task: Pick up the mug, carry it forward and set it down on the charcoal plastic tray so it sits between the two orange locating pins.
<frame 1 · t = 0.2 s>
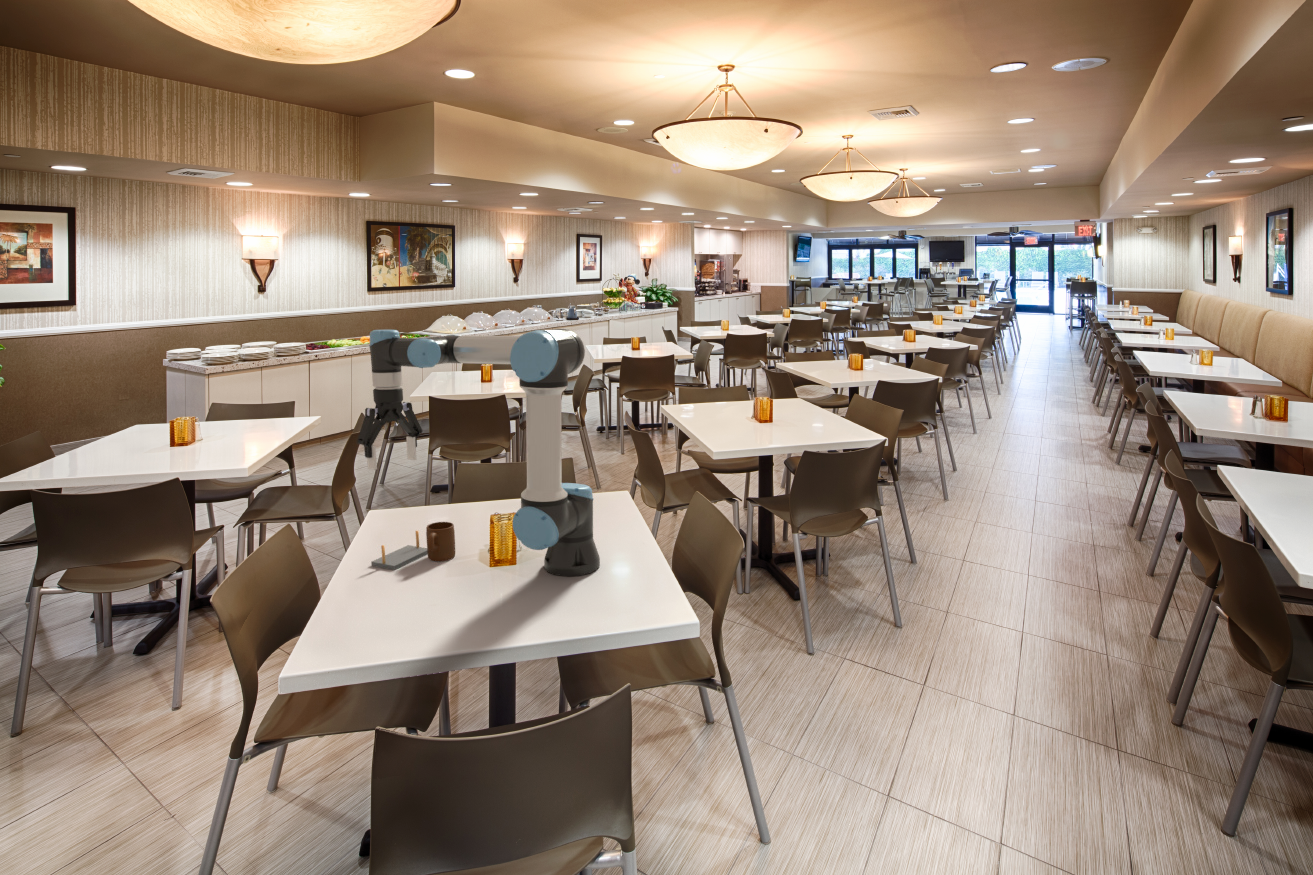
hand: (392, 464, 201), 27 cm above the table, fingers open, 13 cm apart
tray: (401, 559, 205), on the table
mug: (439, 560, 204), on the table
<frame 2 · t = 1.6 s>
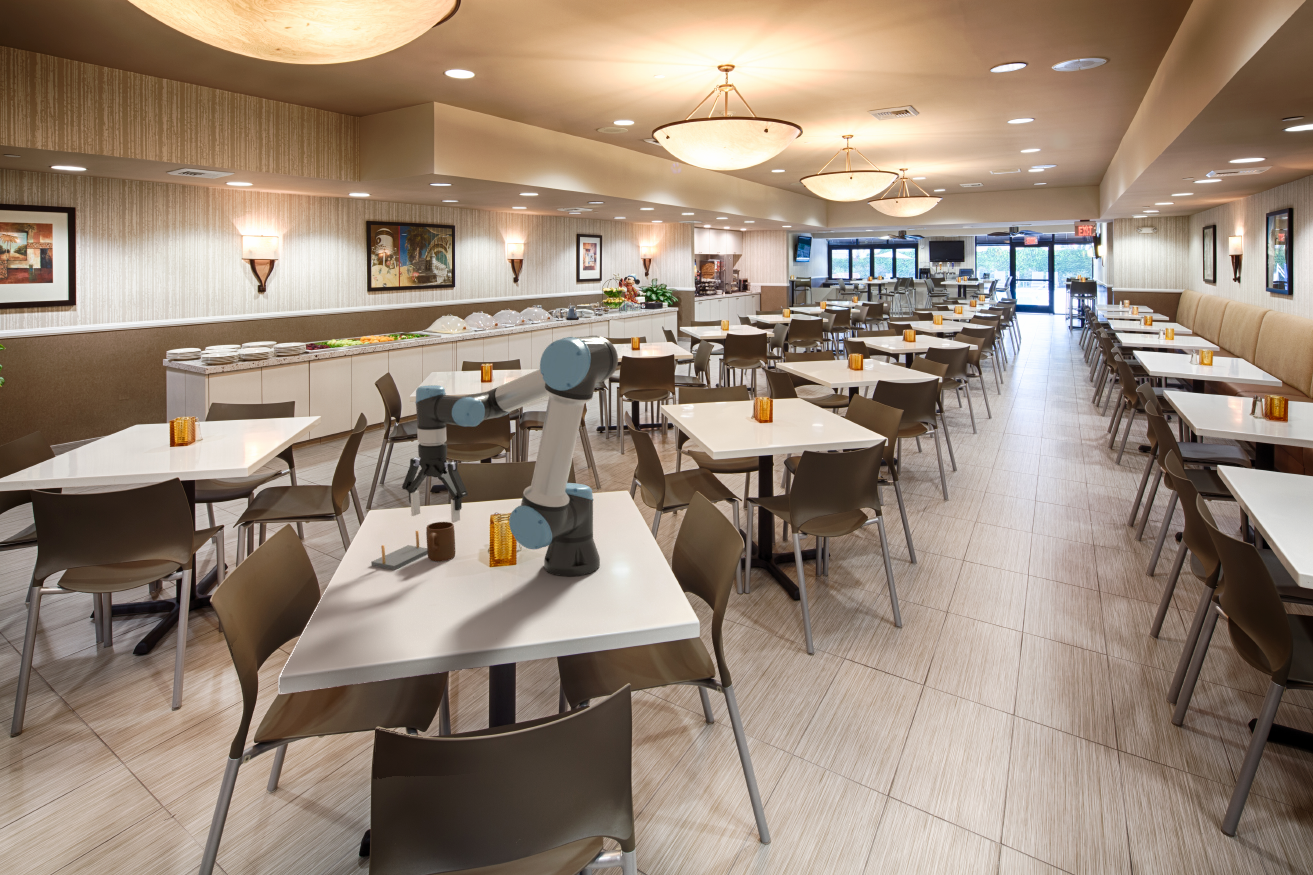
hand: (435, 518, 202), 12 cm above the table, fingers open, 13 cm apart
nothing on the table moved.
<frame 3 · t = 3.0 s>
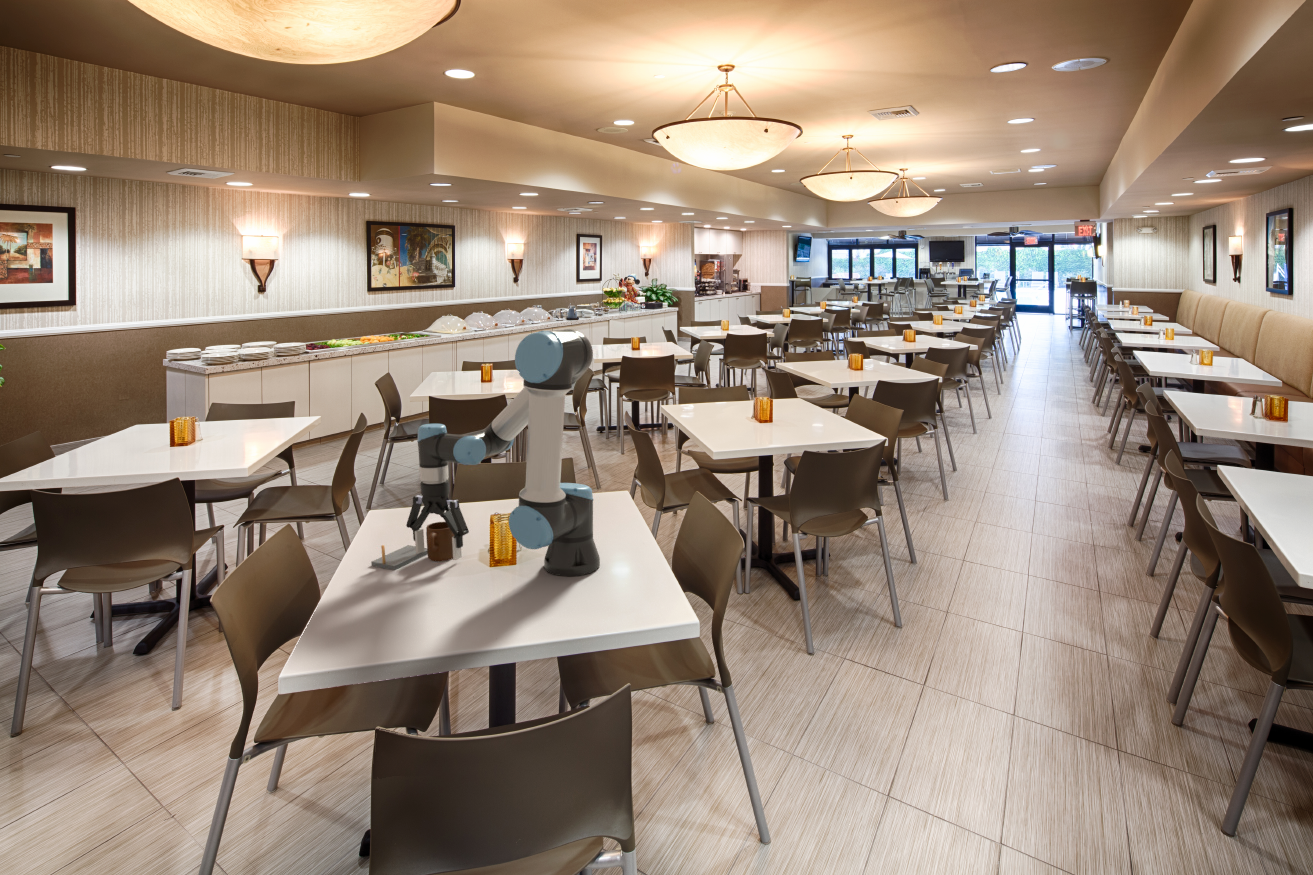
hand: (438, 555, 204), 1 cm above the table, fingers open, 12 cm apart
nothing on the table moved.
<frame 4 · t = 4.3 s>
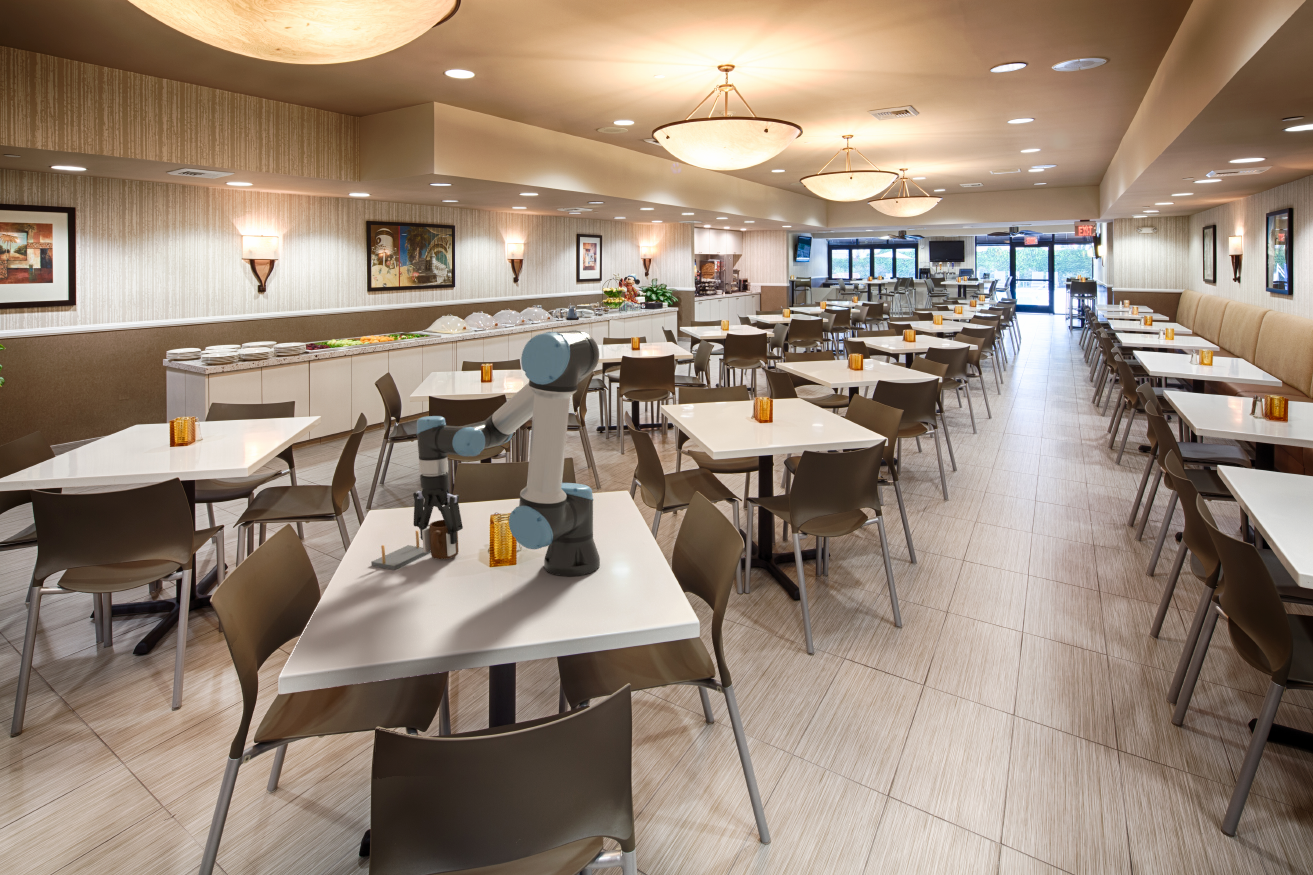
hand: (439, 552, 204), 2 cm above the table, fingers closed on mug, 7 cm apart
mug: (442, 558, 204), point 1 cm above the table, touching gripper
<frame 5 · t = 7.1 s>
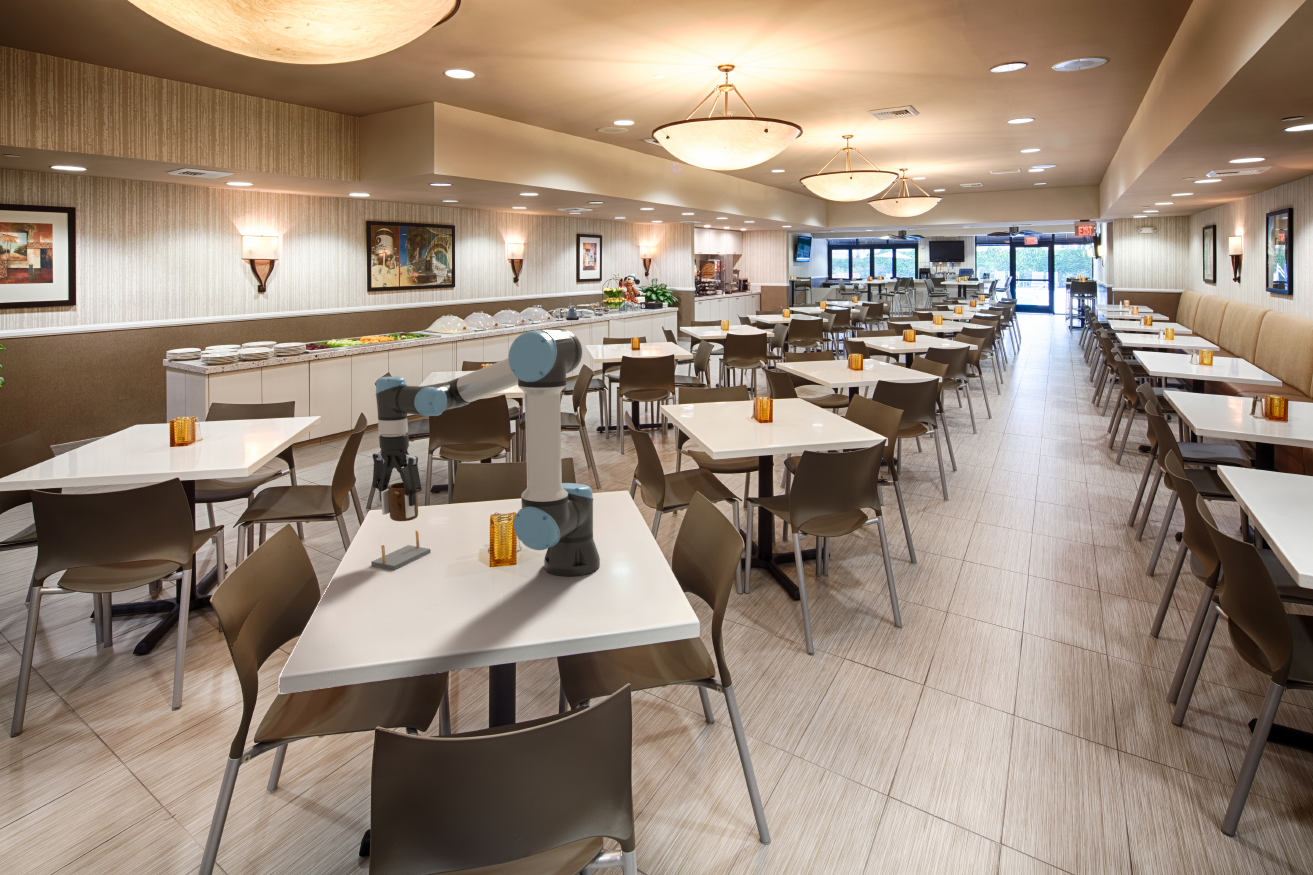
hand: (398, 514, 202), 13 cm above the table, fingers closed on mug, 7 cm apart
mug: (401, 520, 203), point 11 cm above the table, touching gripper
when the fingers open (4 cm above the table, at t = 9.5 s): mug stays where it is, resting on tray.
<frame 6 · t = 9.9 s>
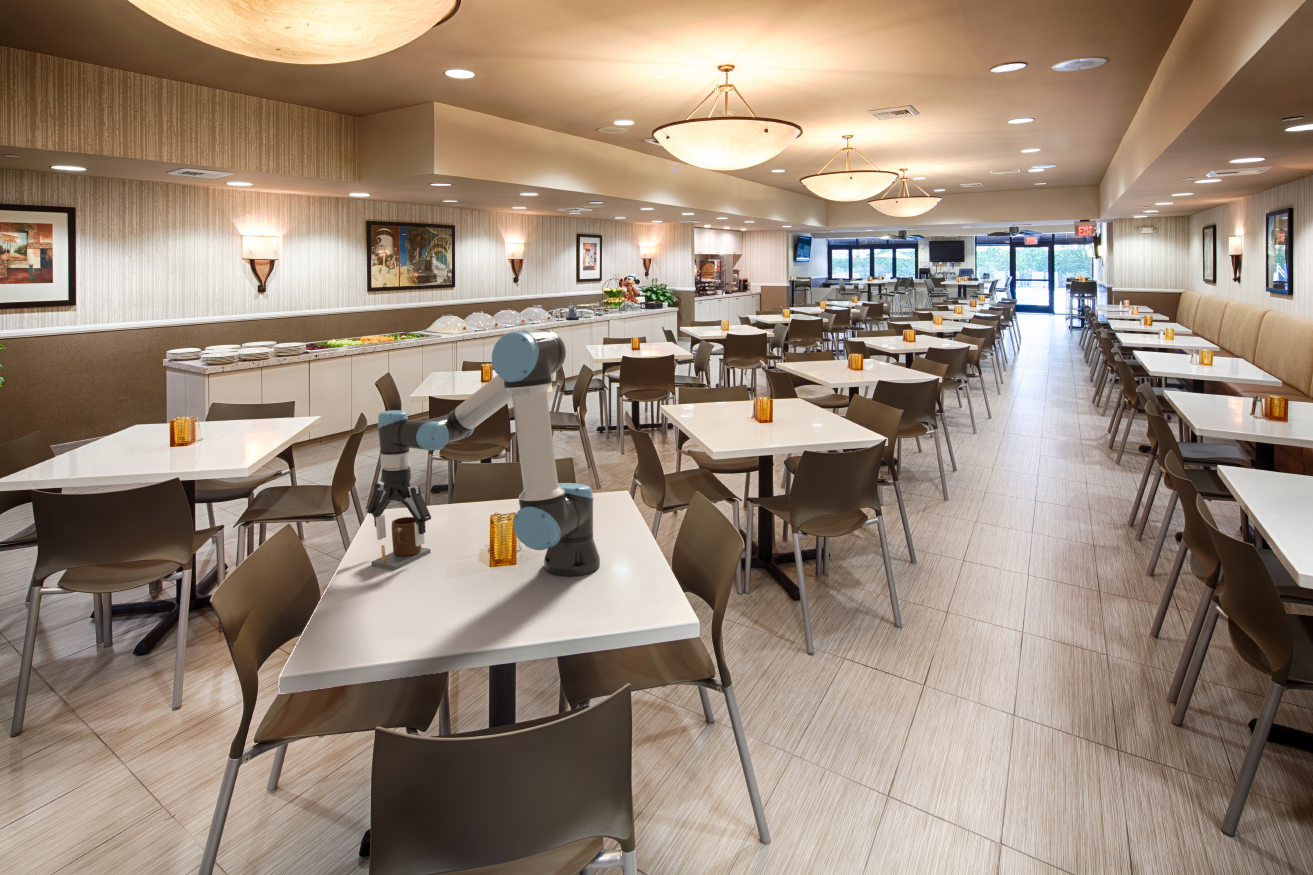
hand: (400, 541, 204), 5 cm above the table, fingers open, 13 cm apart
mug: (404, 555, 204), point 1 cm above the table, touching tray
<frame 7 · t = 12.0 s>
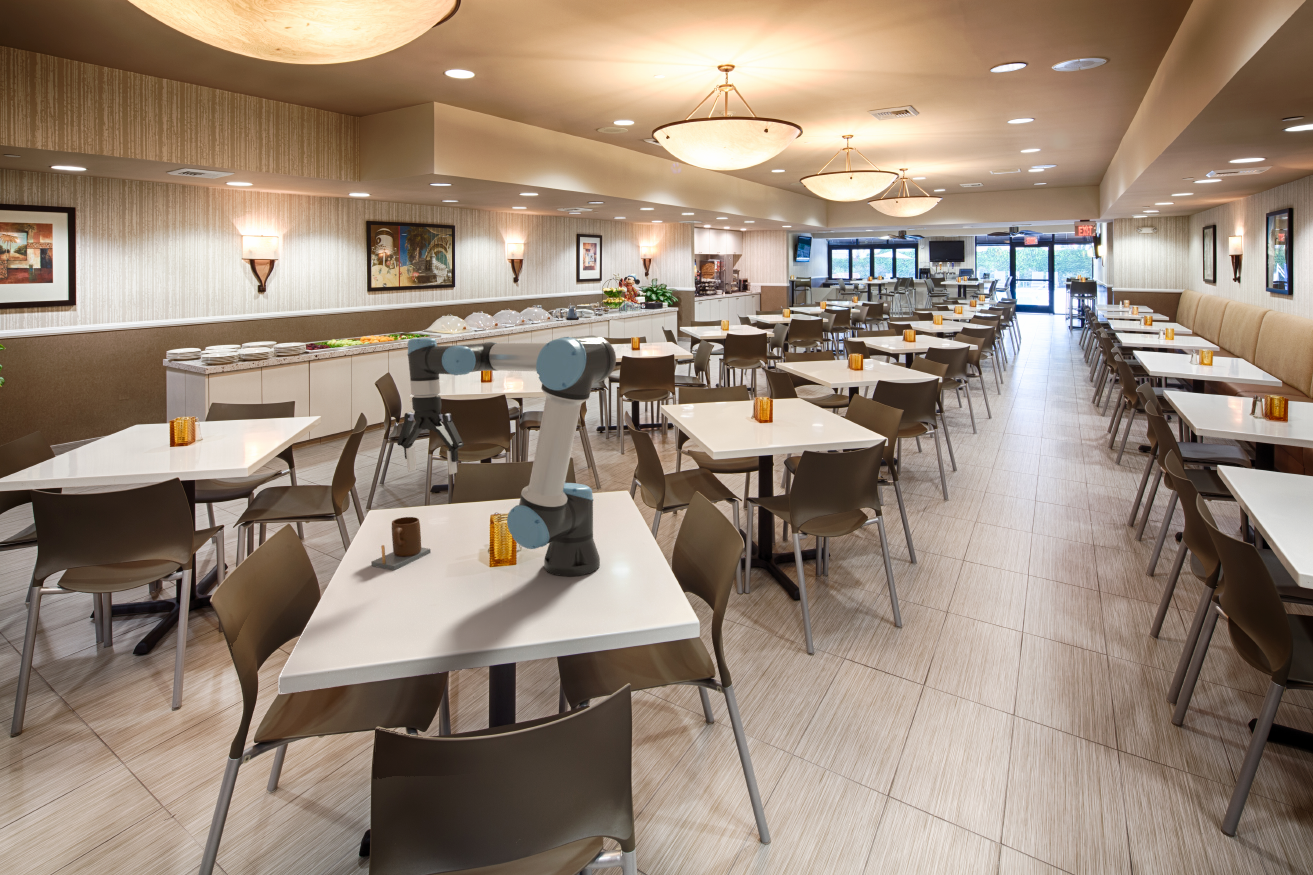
hand: (432, 472, 202), 25 cm above the table, fingers open, 13 cm apart
nothing on the table moved.
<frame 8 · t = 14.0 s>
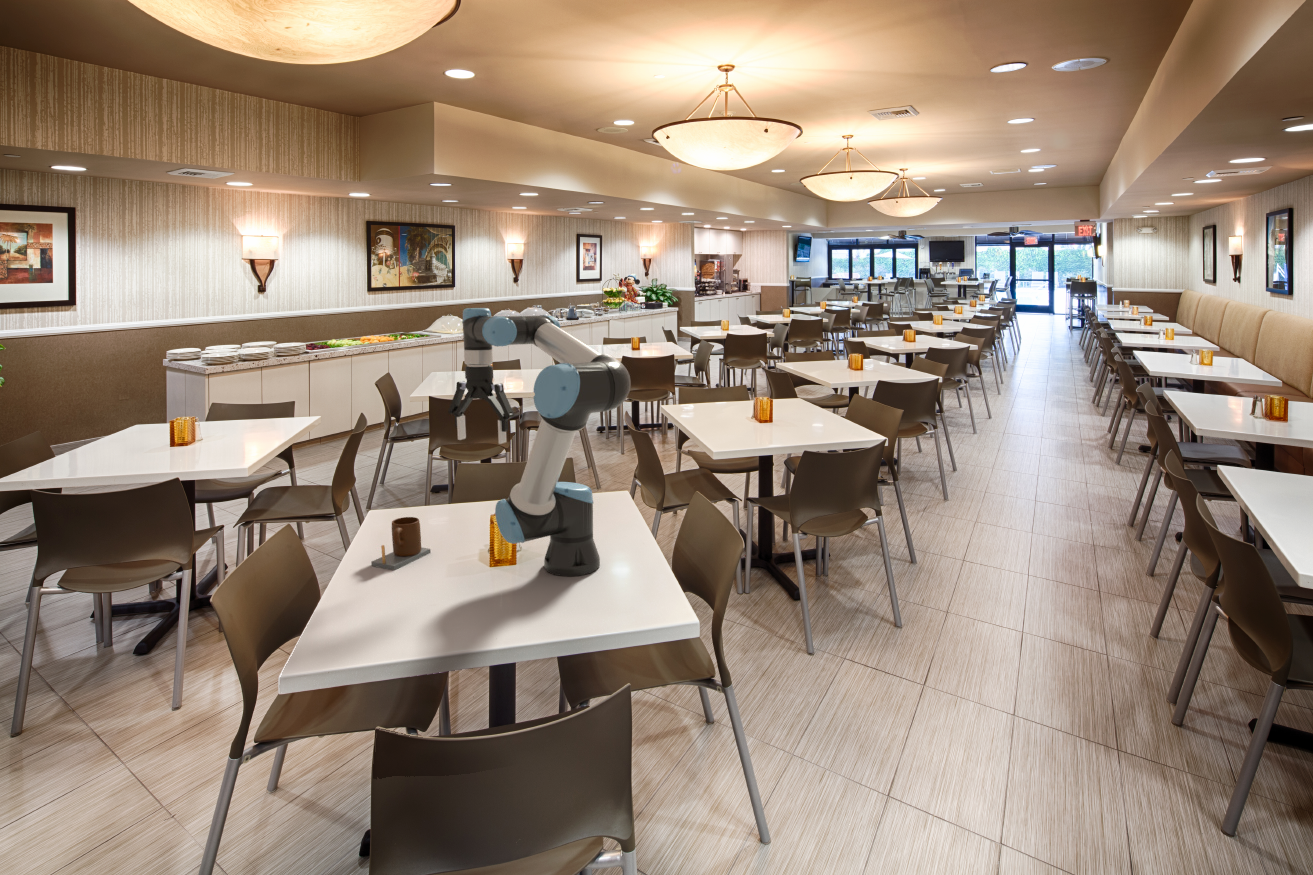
hand: (482, 441, 204), 33 cm above the table, fingers open, 13 cm apart
nothing on the table moved.
at the end: mug 0.9 cm off-centre on the tray, point 1.0 cm above the tray's base; mug tilted 0°; the gripper is holding nothing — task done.
